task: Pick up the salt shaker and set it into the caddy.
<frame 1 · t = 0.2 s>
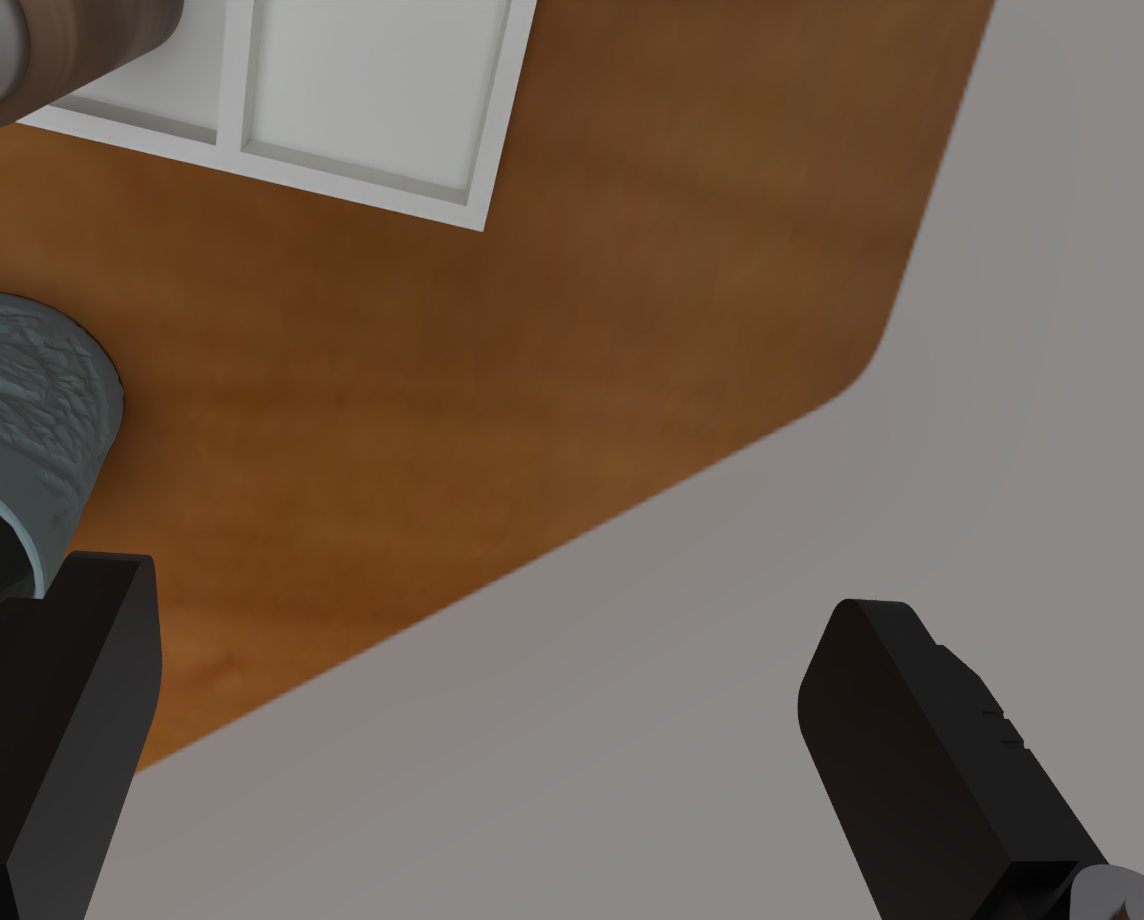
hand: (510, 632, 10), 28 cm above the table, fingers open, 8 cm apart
blue-grey cup: (20, 389, 38), on the table
caddy: (254, 15, 31), on the table
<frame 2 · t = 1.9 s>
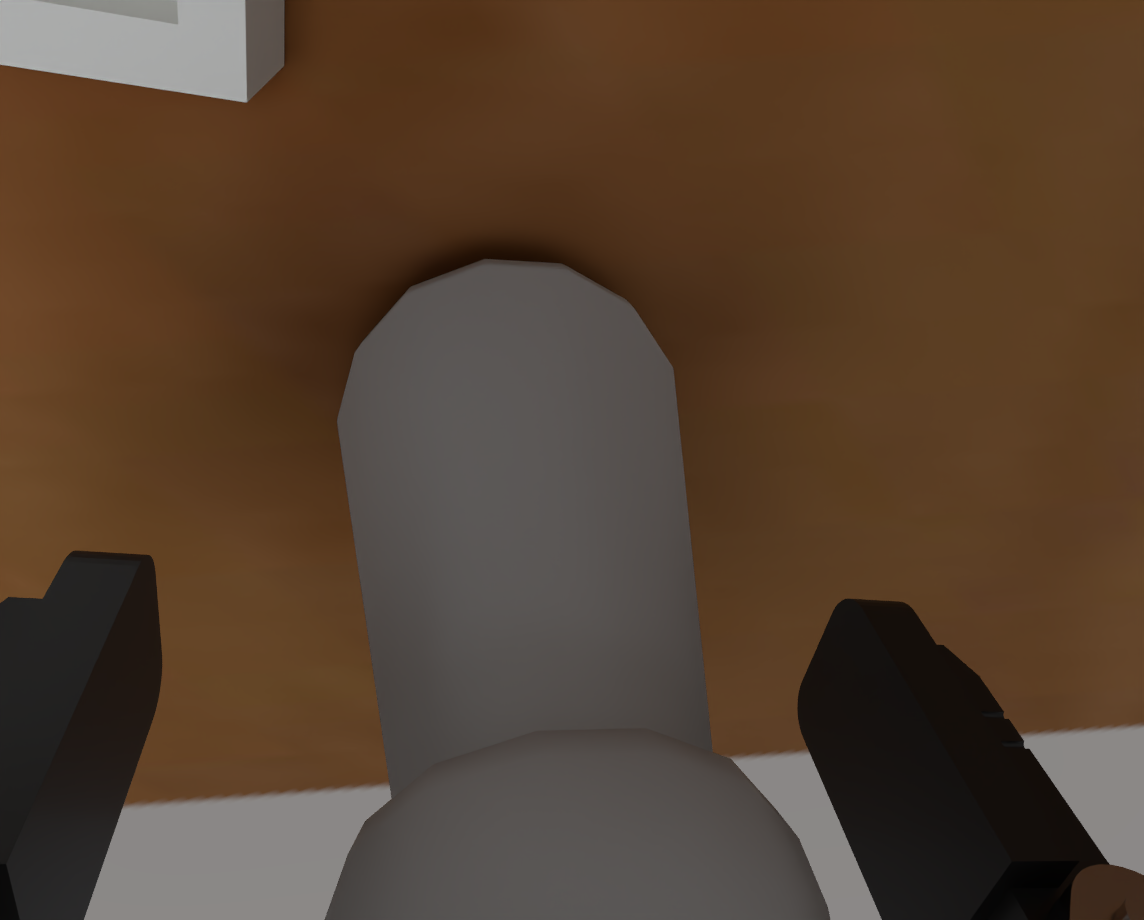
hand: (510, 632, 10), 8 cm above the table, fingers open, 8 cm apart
salt shaker: (505, 359, 17), on the table
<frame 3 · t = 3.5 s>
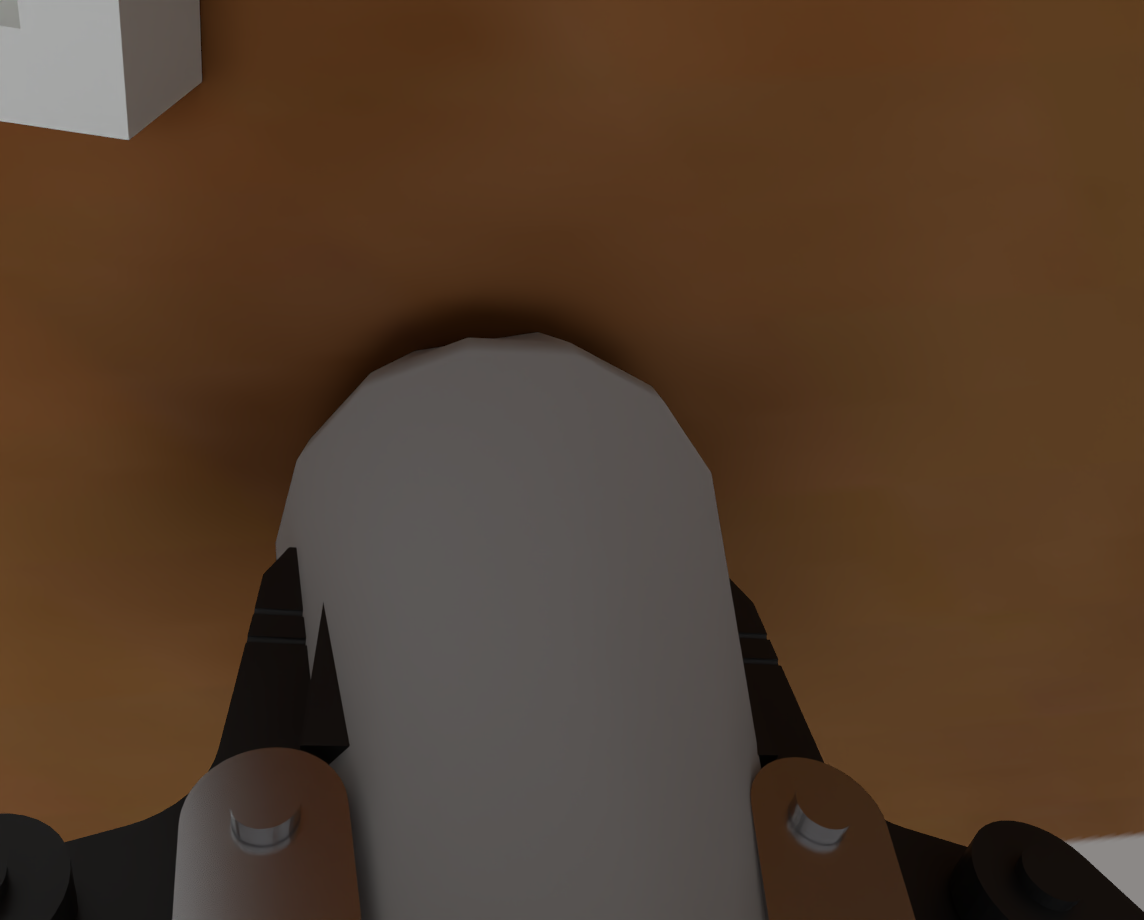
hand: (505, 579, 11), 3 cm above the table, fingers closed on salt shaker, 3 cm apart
salt shaker: (494, 443, 14), on the table, touching gripper
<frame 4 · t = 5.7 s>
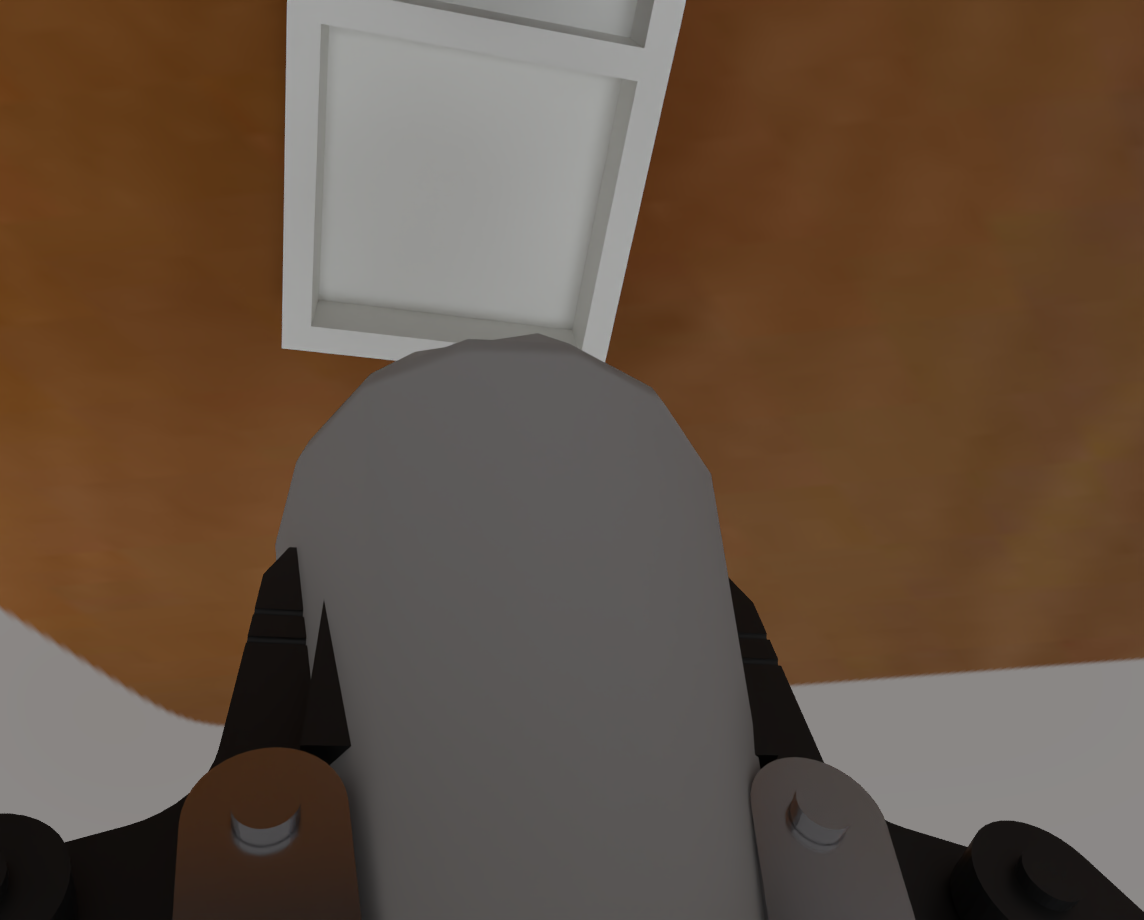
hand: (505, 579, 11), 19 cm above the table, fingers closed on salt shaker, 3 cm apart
caddy: (482, 21, 25), on the table
salt shaker: (493, 444, 14), point 15 cm above the table, touching gripper
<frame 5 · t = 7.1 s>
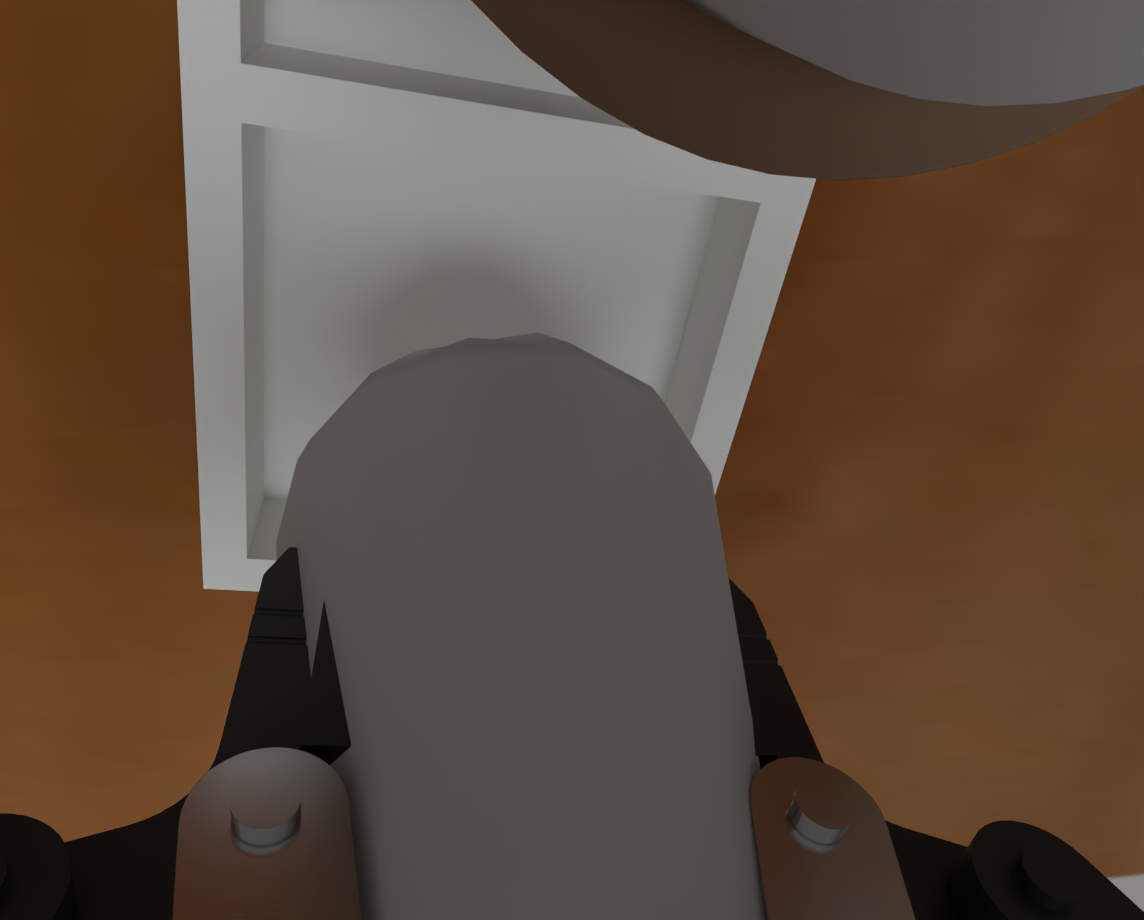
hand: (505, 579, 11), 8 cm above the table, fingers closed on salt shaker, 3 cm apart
caddy: (507, 99, 16), on the table
salt shaker: (494, 443, 14), point 5 cm above the table, touching gripper
when the fingers open (6 cm above the table, at t = 8.2 s): salt shaker drops 1 cm, resting on caddy.
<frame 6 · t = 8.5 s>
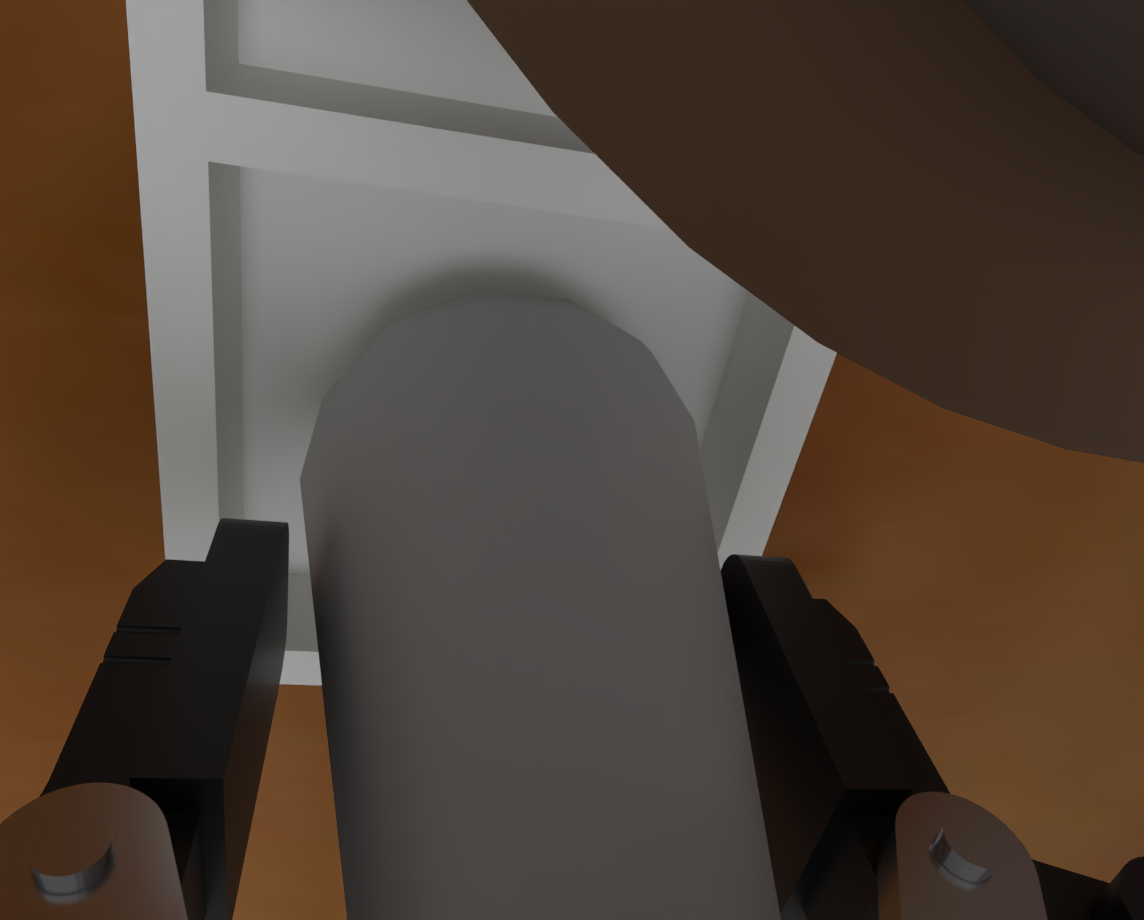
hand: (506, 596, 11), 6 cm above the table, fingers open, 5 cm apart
caddy: (521, 126, 14), on the table
salt shaker: (496, 403, 15), point 1 cm above the table, touching caddy
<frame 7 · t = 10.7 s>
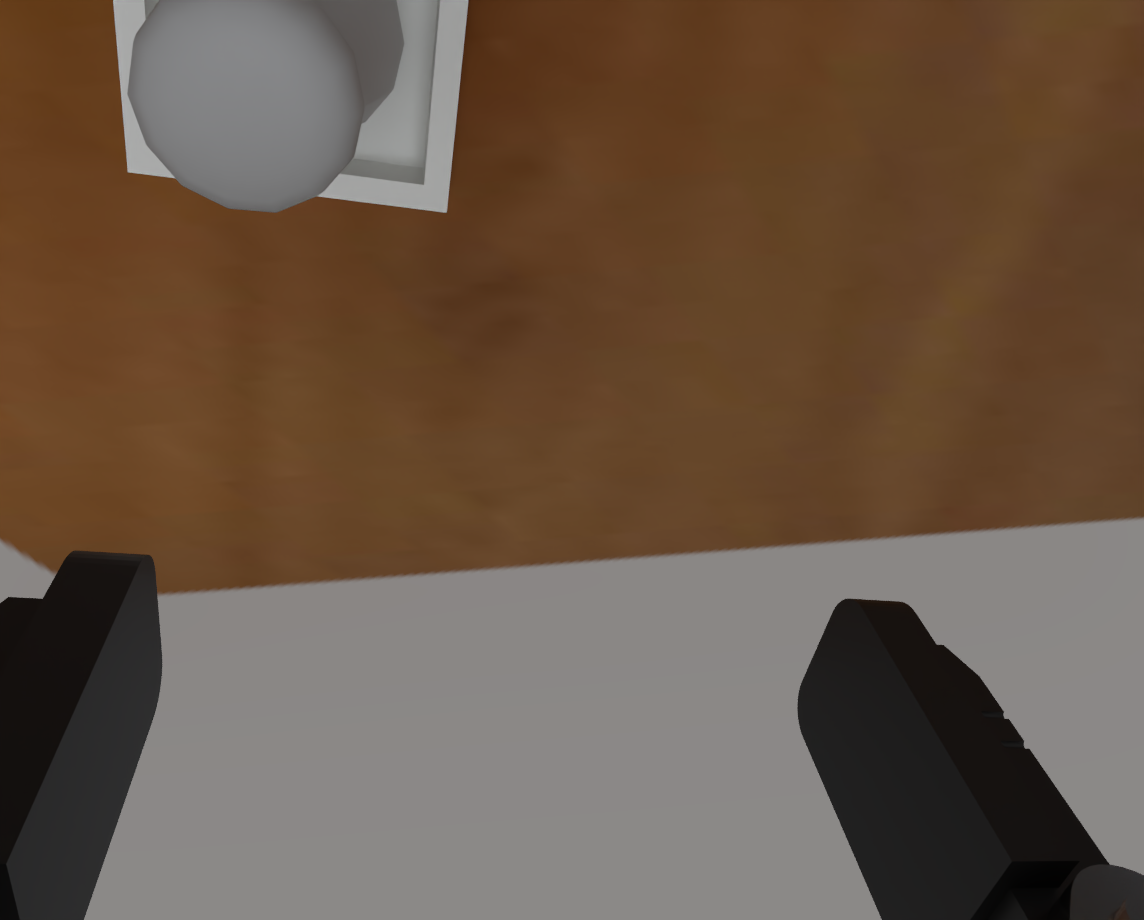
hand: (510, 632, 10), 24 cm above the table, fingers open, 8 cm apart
salt shaker: (308, 19, 27), point 1 cm above the table, touching caddy
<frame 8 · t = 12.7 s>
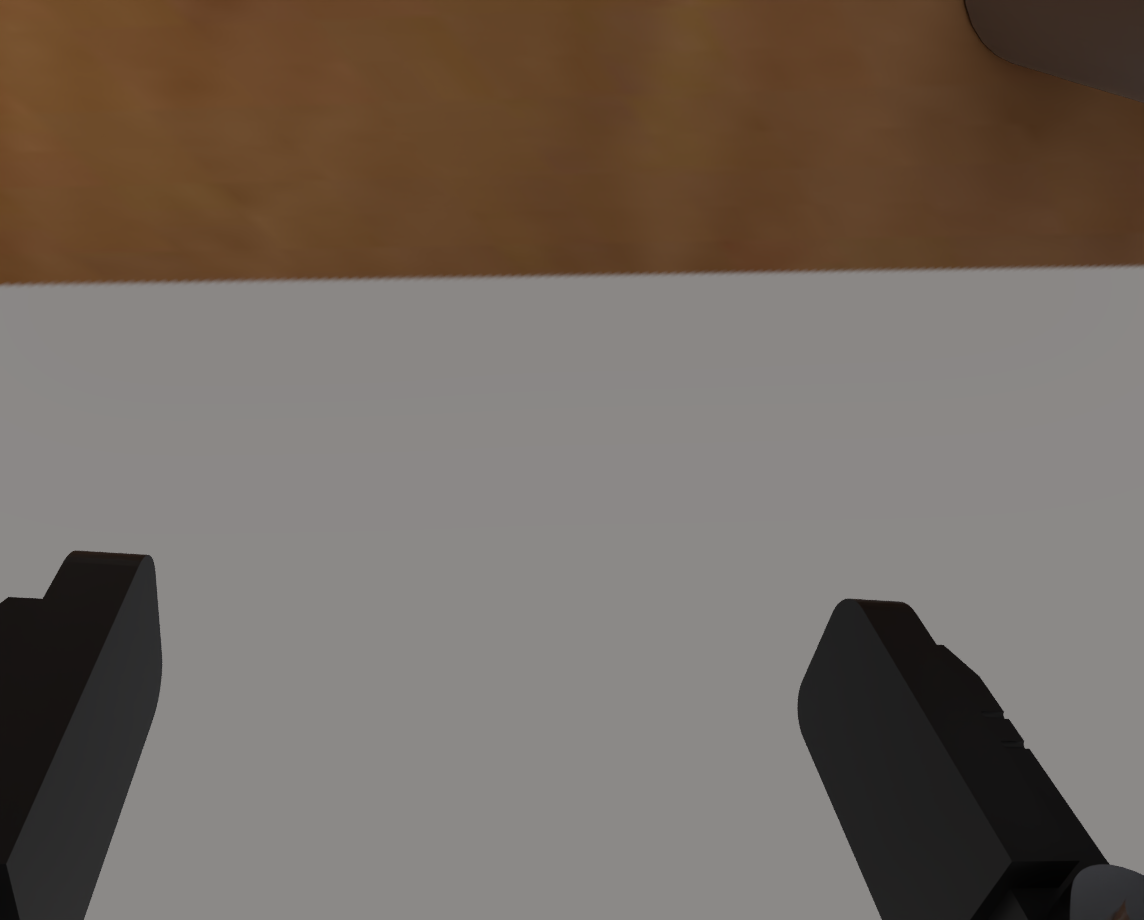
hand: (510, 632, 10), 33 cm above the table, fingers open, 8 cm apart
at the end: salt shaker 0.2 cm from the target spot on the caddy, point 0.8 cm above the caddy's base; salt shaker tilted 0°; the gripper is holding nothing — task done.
